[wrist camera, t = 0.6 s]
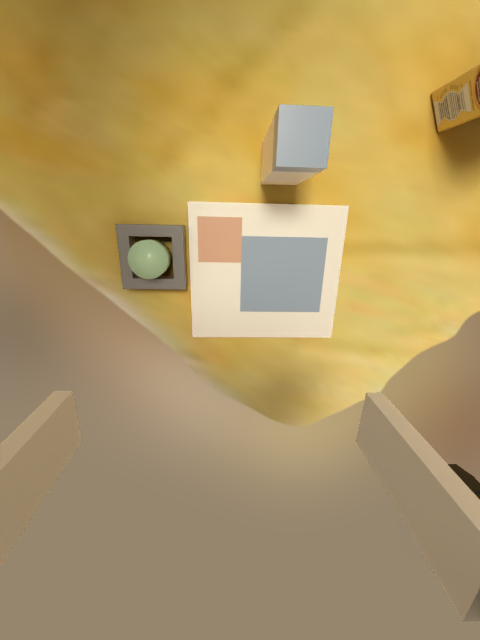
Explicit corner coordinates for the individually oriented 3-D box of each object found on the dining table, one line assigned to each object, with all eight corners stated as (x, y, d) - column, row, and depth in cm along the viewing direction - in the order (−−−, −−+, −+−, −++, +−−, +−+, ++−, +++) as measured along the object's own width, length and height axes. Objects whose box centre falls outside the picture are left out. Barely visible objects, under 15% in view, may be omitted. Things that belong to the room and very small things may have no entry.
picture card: (188, 201, 31) (187, 201, 31) (346, 206, 32) (349, 205, 31) (193, 335, 36) (192, 337, 36) (329, 335, 37) (331, 337, 37)
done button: (133, 238, 31) (125, 239, 29) (170, 239, 31) (165, 240, 29) (136, 274, 32) (129, 278, 30) (172, 275, 32) (167, 279, 30)
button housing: (122, 224, 32) (115, 223, 30) (184, 225, 32) (182, 225, 30) (128, 285, 34) (123, 288, 32) (187, 285, 34) (184, 289, 32)
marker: (262, 142, 30) (279, 104, 20) (299, 144, 30) (333, 106, 20) (260, 184, 31) (276, 166, 22) (296, 185, 31) (327, 168, 22)
